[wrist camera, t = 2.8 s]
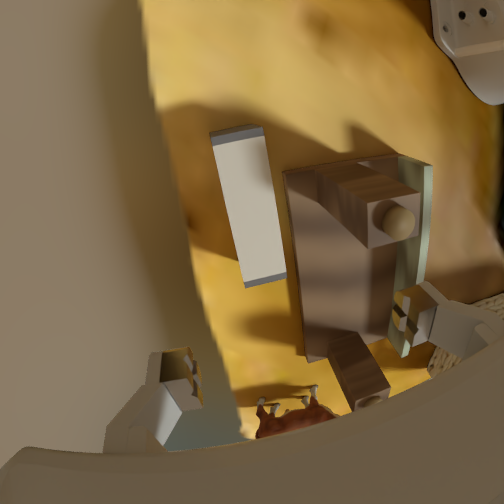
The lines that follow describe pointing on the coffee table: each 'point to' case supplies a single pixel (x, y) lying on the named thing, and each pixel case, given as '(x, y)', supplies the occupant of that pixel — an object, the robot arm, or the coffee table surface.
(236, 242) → the rail bar
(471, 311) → the robot arm
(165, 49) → the coffee table surface
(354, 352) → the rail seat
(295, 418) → the bull figurine
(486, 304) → the storage basket
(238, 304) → the coffee table surface
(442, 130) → the coffee table surface
